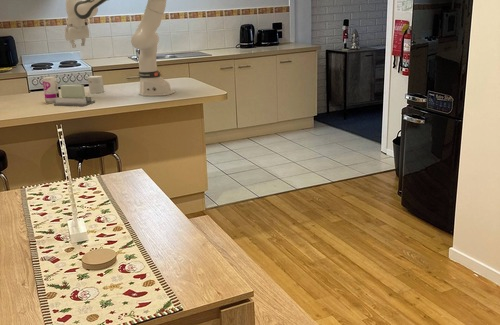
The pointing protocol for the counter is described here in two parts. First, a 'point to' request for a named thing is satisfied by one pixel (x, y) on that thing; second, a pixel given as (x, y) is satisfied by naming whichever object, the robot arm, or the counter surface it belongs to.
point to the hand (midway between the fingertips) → (78, 46)
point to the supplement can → (50, 89)
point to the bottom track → (74, 101)
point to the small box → (96, 84)
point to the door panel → (72, 91)
